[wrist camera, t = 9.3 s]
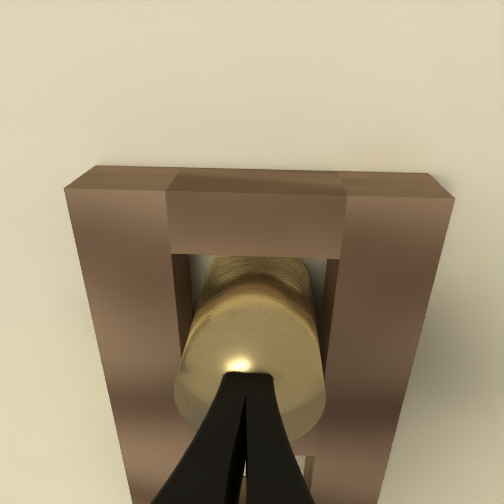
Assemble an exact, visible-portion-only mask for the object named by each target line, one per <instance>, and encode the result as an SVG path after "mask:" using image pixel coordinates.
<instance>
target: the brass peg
mask: <svg viewBox="0 0 504 504" xmlns="http://www.w3.org/2000/svg"><path fill="white" fill-rule="evenodd" d="M226 372H236V373H258V374H270V375H271V376H272V377H273V381H274V389H275V395H276V399H277V404H278V408H279V411H280V415H281V418H282V422H283V425H284V428H285V431H286V434H287V437H288V440H289V443H290V442H292V441H294V440H296V439H298V438H300V437H301V436H303V435H305V434H306V433H307V432H308V431H310V430H311V429H312V428H313V427H314V426H315V425H316V423H317V422H318V421H319V419H320V417H321V415H322V413H323V411H324V407H325V402H326V392H325V384H324V377H323V370H322V363H321V356H320V349H319V341H318V334H317V327H316V320H315V313H314V305H313V298H312V291H311V284H310V278H309V274H308V271H307V269H306V266H305V265H304V263H303V262H302V260H301V259H300V258H291V257H260V256H230V255H216V257H215V258H214V259H213V260H212V262H211V264H210V265H209V268H208V270H207V273H206V276H205V280H204V283H203V287H202V290H201V294H200V297H199V300H198V304H197V307H196V311H195V314H194V318H193V321H192V324H191V328H190V331H189V335H188V338H187V342H186V345H185V349H184V352H183V355H182V359H181V362H180V366H179V369H178V373H177V376H176V380H175V384H174V398H175V402H176V406H177V408H178V410H179V412H180V414H181V415H182V417H183V418H184V419H185V421H186V422H187V423H188V424H189V425H190V426H191V427H192V428H194V429H195V430H196V431H198V429H199V427H200V426H201V424H202V422H203V420H204V418H205V416H206V414H207V412H208V410H209V408H210V406H211V404H212V402H213V400H214V398H215V395H216V393H217V391H218V388H219V386H220V383H221V380H222V377H223V375H224V374H225V373H226Z"/></svg>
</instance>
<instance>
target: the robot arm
mask: <svg viewBox="0 0 504 504" xmlns="http://www.w3.org/2000/svg"><path fill="white" fill-rule="evenodd" d="M245 460H246V504H315V502H314V500H313V498H312V496H311V493H310V491H309V489H308V487H307V485H306V482H305V480H304V478H303V476H302V473H301V471H300V468H299V466H298V464H297V461H296V459H295V456H294V453H293V451H292V448H291V446H290V443H289V440H288V437H287V434H286V431H285V428H284V425H283V422H282V418H281V415H280V411H279V408H278V404H277V399H276V395H275V389H274V381H273V377H272V376H271V375H270V374H258V373H236V372H226V373H225V374H224V375H223V377H222V380H221V383H220V386H219V388H218V391H217V393H216V395H215V398H214V400H213V402H212V404H211V406H210V408H209V410H208V412H207V414H206V416H205V418H204V420H203V422H202V424H201V426H200V427H199V429H198V431H197V433H196V435H195V437H194V438H193V440H192V442H191V443H190V445H189V447H188V448H187V450H186V451H185V453H184V455H183V456H182V458H181V460H180V461H179V463H178V464H177V466H176V468H175V469H174V471H173V472H172V474H171V475H170V477H169V478H168V479H167V481H166V482H165V484H164V485H163V487H162V488H161V489H160V491H159V492H158V494H157V495H156V496H155V498H154V499H153V500H152V502H151V503H150V504H239V499H240V493H241V486H242V480H243V473H244V467H245Z"/></svg>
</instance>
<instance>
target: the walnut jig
mask: <svg viewBox="0 0 504 504" xmlns="http://www.w3.org/2000/svg"><path fill="white" fill-rule="evenodd" d="M64 192H65V196H66V201H67V205H68V210H69V215H70V219H71V224H72V228H73V233H74V237H75V242H76V247H77V251H78V256H79V260H80V265H81V269H82V274H83V279H84V283H85V288H86V292H87V297H88V302H89V306H90V311H91V315H92V320H93V324H94V329H95V334H96V338H97V343H98V347H99V352H100V356H101V361H102V366H103V370H104V375H105V379H106V384H107V389H108V393H109V398H110V402H111V407H112V411H113V416H114V421H115V425H116V430H117V434H118V439H119V443H120V448H121V453H122V457H123V462H124V466H125V471H126V476H127V480H128V485H129V489H130V494H131V498H132V503H133V504H150V503H151V502H152V500H153V499H154V498H155V496H156V495H157V494H158V492H159V491H160V489H161V488H162V487H163V485H164V484H165V482H166V481H167V479H168V478H169V477H170V475H171V474H172V472H173V471H174V469H175V468H176V466H177V464H178V463H179V461H180V460H181V458H182V456H183V455H184V453H185V451H186V450H187V448H188V447H189V445H190V443H191V442H192V440H193V438H194V437H195V435H196V433H197V431H196V430H195V429H194V428H192V427H191V426H190V425H189V424H188V423H187V422H186V421H185V419H184V418H183V417H182V415H181V414H180V412H179V410H178V408H177V406H176V402H175V398H174V384H175V380H176V376H177V373H178V369H179V366H180V362H181V359H182V355H183V352H184V349H185V345H186V342H187V338H188V335H189V331H190V328H191V324H192V321H193V314H192V301H191V288H190V274H189V261H188V254H199V255H230V256H260V257H291V258H322V259H327V266H326V276H325V285H324V294H323V303H322V313H321V322H320V331H319V340H318V341H319V349H320V356H321V363H322V370H323V377H324V384H325V392H326V402H325V407H324V411H323V413H322V415H321V417H320V419H319V421H318V422H317V423H316V425H315V426H314V427H313V428H312V429H311V430H310V431H308V432H307V433H306V434H305V435H303V436H301V437H300V438H298V439H296V440H294V441H292V442H290V446H291V448H292V451H293V453H294V455H306V460H305V469H304V480H305V482H306V485H307V487H308V489H309V491H310V493H311V496H312V498H313V500H314V502H315V504H377V501H378V497H379V493H380V489H381V485H382V482H383V478H384V474H385V470H386V466H387V462H388V458H389V454H390V450H391V446H392V443H393V439H394V435H395V431H396V427H397V423H398V419H399V415H400V411H401V407H402V403H403V400H404V396H405V392H406V388H407V384H408V380H409V376H410V372H411V368H412V364H413V361H414V357H415V353H416V349H417V345H418V341H419V337H420V333H421V329H422V325H423V322H424V318H425V314H426V310H427V306H428V302H429V298H430V294H431V290H432V286H433V283H434V279H435V275H436V271H437V267H438V263H439V259H440V255H441V251H442V247H443V244H444V240H445V236H446V232H447V228H448V224H449V220H450V216H451V212H452V208H453V205H454V201H455V198H454V197H453V196H452V195H451V194H450V193H449V192H447V191H446V190H445V189H444V188H443V187H442V186H441V185H440V184H439V183H438V182H437V181H435V180H434V179H433V178H432V177H431V176H430V175H429V174H427V173H384V172H341V171H299V170H256V169H213V168H170V167H128V166H94V167H93V168H91V169H90V170H88V171H87V172H86V173H84V174H83V175H82V176H80V177H79V178H77V179H76V180H75V181H73V182H72V183H71V184H69V185H68V186H66V187H65V188H64ZM239 504H246V477H243V480H242V486H241V493H240V499H239Z"/></svg>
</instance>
